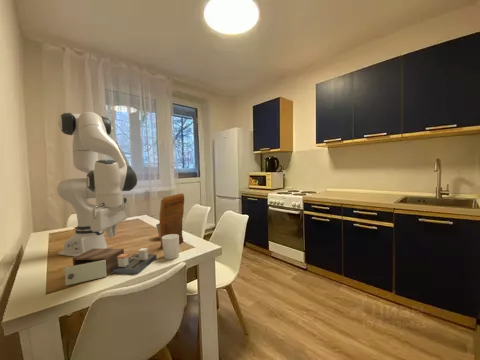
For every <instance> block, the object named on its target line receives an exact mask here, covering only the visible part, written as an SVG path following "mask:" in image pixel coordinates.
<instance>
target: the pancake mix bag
mask: <svg viewBox="0 0 480 360" xmlns="http://www.w3.org/2000/svg"><path fill="white" fill-rule="evenodd" d="M184 207H185V194H184V193H183V192H182V193H178V194H173V195H168V196H164V197H162V199H161V200H160V209H159V223H158V224H160V239H159V240H160V250H163V245H162V237H163V236H165V235H169V234H178V235H179V245H180V244H182V243H184V236H183V218H184V214H185V211H184V210H185V208H184Z"/></svg>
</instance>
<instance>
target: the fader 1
mask: <svg viewBox="0 0 480 360" xmlns="http://www.w3.org/2000/svg"><path fill="white" fill-rule="evenodd" d="M117 258H118V267H125V266H127V265H128V264H129V261H128V258H129V253H124V254H121V255H119V256H117Z"/></svg>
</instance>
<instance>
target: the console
mask: <svg viewBox="0 0 480 360" xmlns="http://www.w3.org/2000/svg"><path fill="white" fill-rule="evenodd" d="M157 258H158V257H157V254H155V253H154V254H153V253H148V258H147V259H146V260H139V253H134V254H132V255H131V256H130V257H128V261H129V264H128V265H127V266H125V267H118V265H117V266H116V267H114V268H113V269H112V273H111V274H112V275H139V274H140V273H142V271H143V270H145V268H147V267H148V266H149V265H150V264H152V263H153V262H154V261H156V260H157Z"/></svg>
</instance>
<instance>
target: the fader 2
mask: <svg viewBox="0 0 480 360" xmlns="http://www.w3.org/2000/svg"><path fill="white" fill-rule="evenodd" d="M137 253H138V254H139V260H146V259H147V258H148V254H149V247H144V248H143V247H141V248H140V249H138V250H137Z"/></svg>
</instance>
